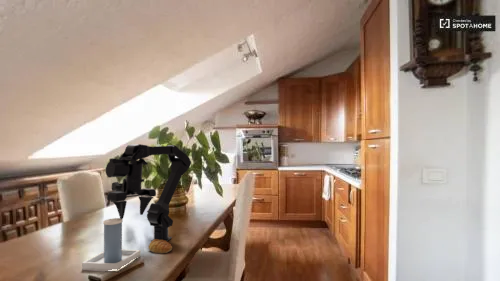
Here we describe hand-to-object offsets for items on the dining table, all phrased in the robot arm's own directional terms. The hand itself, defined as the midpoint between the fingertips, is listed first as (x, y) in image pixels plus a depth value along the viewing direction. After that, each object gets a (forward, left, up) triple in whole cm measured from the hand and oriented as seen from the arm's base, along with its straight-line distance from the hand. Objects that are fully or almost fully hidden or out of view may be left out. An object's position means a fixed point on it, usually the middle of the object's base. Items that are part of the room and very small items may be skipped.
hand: (131, 216), depth 112 cm
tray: (+12, +1, -13) cm, 18 cm away
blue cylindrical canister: (+12, +1, -12) cm, 17 cm away
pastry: (-2, +11, -13) cm, 17 cm away
